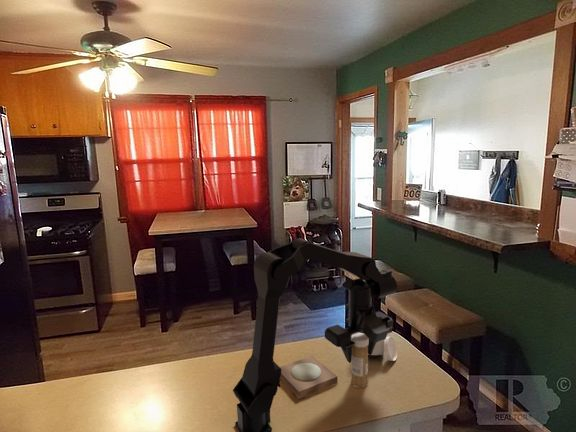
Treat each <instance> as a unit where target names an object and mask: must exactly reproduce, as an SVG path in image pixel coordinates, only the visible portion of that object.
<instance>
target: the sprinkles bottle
mask: <svg viewBox="0 0 576 432" xmlns="http://www.w3.org/2000/svg"><path fill="white" fill-rule="evenodd" d="M352 341H353V342H355V344H354V345H353V346H352V359H351V364H350V365H351V366H350V371H351V372H350V373H351V379H350V382H351V384H352V386H354V387H355V388H365V387H367V386H368V384H369V379H368V378H369V376H368V375H369V358H368V344H369V338H368V337H367V336H366V335H365V334H363V333H357V334H354V335H352Z"/></svg>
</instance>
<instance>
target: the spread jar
mask: <svg viewBox="0 0 576 432" xmlns="http://www.w3.org/2000/svg"><path fill="white" fill-rule="evenodd" d="M360 333H363V332H360ZM363 334H364V333H363ZM397 346H398V345H397V342H396V340H395V338H394V337H393V336H392V335H391V336H388V335H387V337H386V339H385V340H381V341H378V342H377V343H376V344H375V347H374V349H373V352H372V354H371V355H369V354H368V359H379V358H380V357H382V356H384V355H385V357H386V360H388V361H390V362H394V361H396V360H397V358H398V347H397Z"/></svg>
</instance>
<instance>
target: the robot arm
mask: <svg viewBox="0 0 576 432" xmlns="http://www.w3.org/2000/svg"><path fill="white" fill-rule="evenodd" d="M309 260H311V261H314V262H318V263H320V264H325V265H329V266H332V267H335V268H339V269H340V270H341V271H344V272H345V273H348V275H349V274H350V275H352V276H354V277H357V278H355V279H352V278H350V277H347V279H346V280H345V281H343V282H342V284H341V287H342V288H344V289H345V290H348V303H345V309H347V310H348V318H345V324H347V325H348V327H342V326H341V325H339V324H336V325H333V326H332V325H331V326H329V327H327V328H325V329H324V339H326V340H327V341H328V342H330V343H331V344H332V345H334V346H335V347H336V348H341V350H342V353H343V355H344V357H345V359H346V361H347V362H348V363H349V364H350V363H351V359H352V346H353V345H354V344H355V342H353V341H352V335H354V334H357V333H360V332H363V333H364V334H365V335H366V336H367V337H368V338H369V344H368V354H369V355H371V354H372V352H373V349H374V347H375V344H376V343H377V342H378V341H381V340H385V339H386V337H388V334H391V333H392V332H393V329H394V319H392V317H391V316H389V315H387V314H385V313H384V312H381V311H380V310H379V311H376V307H374V306H372V303H373V302H372V300H373V299H375V300H377V299H382V298H385V297H388V296H391V295H394V294H396V293H397V291H398V284H397V280H396V279H395V277H394V276H393V271H392V270H389V269H387V268H386V269H382V270H379V269H378V267H377V263H376V259H374V258H372V257H371V256H367V255H364V254H362V253H358V252H354V251H353V252H352V251H338V250H334V249H332V248H329V247H325V246H322V245H320V244H316V243H313V242H311V241H309V240H307V239H303V238H301V237H299V238H296V239H292V241H290V242H288V243H286V244H283V245H280V246H277V247H275V248H273V249H271V250H269V251H267V252H263V253H261V254H260V255H258V256H257V257H256V258H255V260H254V262H253V274H254V276H253V277H254V278H253V279H254V284H255V286H256V290H257V304H256V314H255V324H254V332H253V344H252V351H251V352H252V353H251V356H250V357H249V358H248V360H247V362H246V363H245V365H244V369H243V373H242V377H241V378H240V379H239V381H238V382H237V383H236V384H235V386H234V387H233V389H232V392H233V394H234V396H235V398H237V401H238V403H236V410H237V411H236V412H237V413H236V414H237V421H235V422H234V425H235V428H236V429H237V431H238V432H272V431H273V427H272V426H271V425H270V424H271V408H272V405H273V400H274V399H275V398H274V397H275V396H276V395H277V392H278V387H279V388H281V381H280V380H281V379H280V376H281V368H280V367H281V366H279V365H278V364H277V363H276V362H275V361H274V356H275V355H274V353H275V346H276V345H275V344H276V338H277V337H276V335H277V327H278V319H279V318H278V317H279V309H280V308H279V307H280V301H281V297H282V295H283V294H284V293H285V291H286V290H287V288H288V285H289V281H290V278H291V276H293V275H294V274H296V273H297V272H299V271H300V269H301V268H302V266H304V264H305V262H307V261H309Z"/></svg>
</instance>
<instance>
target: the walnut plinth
mask: <svg viewBox="0 0 576 432" xmlns="http://www.w3.org/2000/svg"><path fill="white" fill-rule="evenodd" d="M279 367H280V368H281V376H280V380H281V381H282V382H283V383H284V384H285V386H287V388H288V389H289V390H290V391H291V392H292V393H293V394H294V395H295V396H296V397H297V398H298V399H299V400H300V399H302V398H303V399H304V398H305V397H308V396H310V395H312V394H315V393H317V392H320V391H322V390H324V389H327V388H330V387H331V386H333V385H337V384H338V375H336V374H335V373H334V372H333V371H332V370H330V369H329V368H328V367H327V366H326V365H324V363H322V362H321V361H320V360H318V359H317V358H316V357H315V356H314V355H309V356H308V357H304V358H301V359H299V360H296V361H293V362H291V363H287V364H284V365H281V366H279Z"/></svg>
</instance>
